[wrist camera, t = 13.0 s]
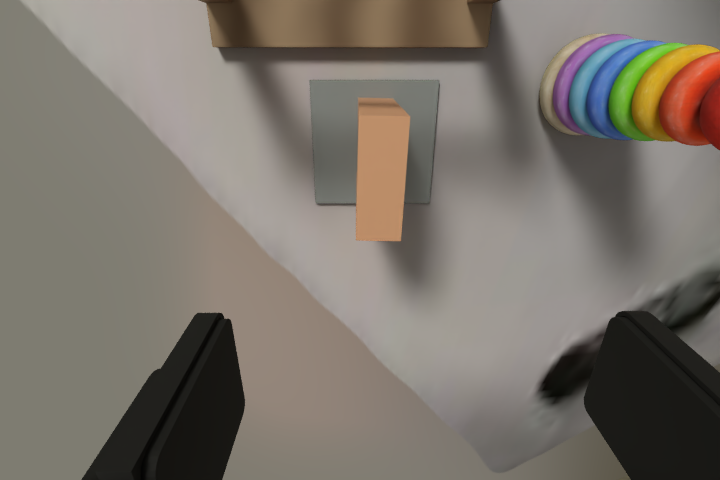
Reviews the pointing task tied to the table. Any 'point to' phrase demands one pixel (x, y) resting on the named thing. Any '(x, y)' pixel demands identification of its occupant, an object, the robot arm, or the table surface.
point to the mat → (340, 134)
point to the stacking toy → (634, 90)
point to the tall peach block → (381, 169)
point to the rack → (350, 23)
